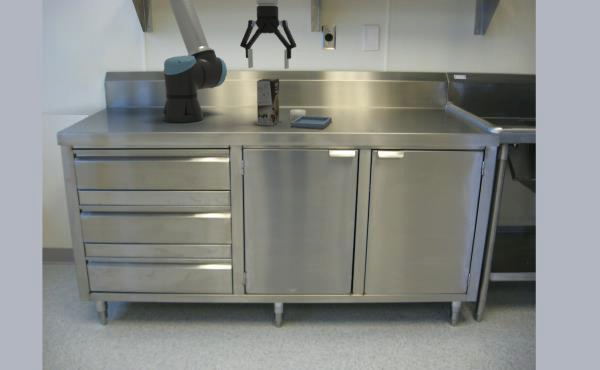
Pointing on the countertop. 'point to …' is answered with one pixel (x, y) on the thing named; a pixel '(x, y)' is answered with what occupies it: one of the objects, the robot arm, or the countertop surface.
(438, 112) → the countertop surface
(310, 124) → the tray
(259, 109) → the coffee box
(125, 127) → the countertop surface
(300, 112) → the white small block
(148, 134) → the countertop surface
